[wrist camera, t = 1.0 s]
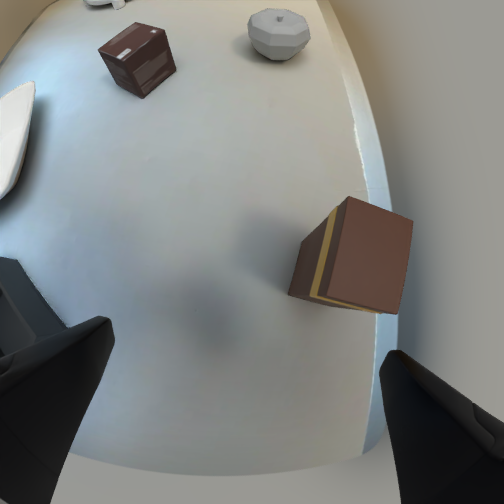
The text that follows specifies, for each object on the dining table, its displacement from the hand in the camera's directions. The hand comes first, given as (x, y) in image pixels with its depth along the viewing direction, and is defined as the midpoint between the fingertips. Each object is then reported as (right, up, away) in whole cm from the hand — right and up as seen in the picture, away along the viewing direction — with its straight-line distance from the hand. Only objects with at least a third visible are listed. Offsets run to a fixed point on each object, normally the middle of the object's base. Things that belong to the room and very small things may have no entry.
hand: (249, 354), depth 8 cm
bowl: (-38, +16, +18) cm, 45 cm away
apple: (+3, +29, +21) cm, 36 cm away
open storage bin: (-27, -6, +15) cm, 32 cm away
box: (-13, +25, +20) cm, 35 cm away
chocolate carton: (+6, +1, +16) cm, 17 cm away
